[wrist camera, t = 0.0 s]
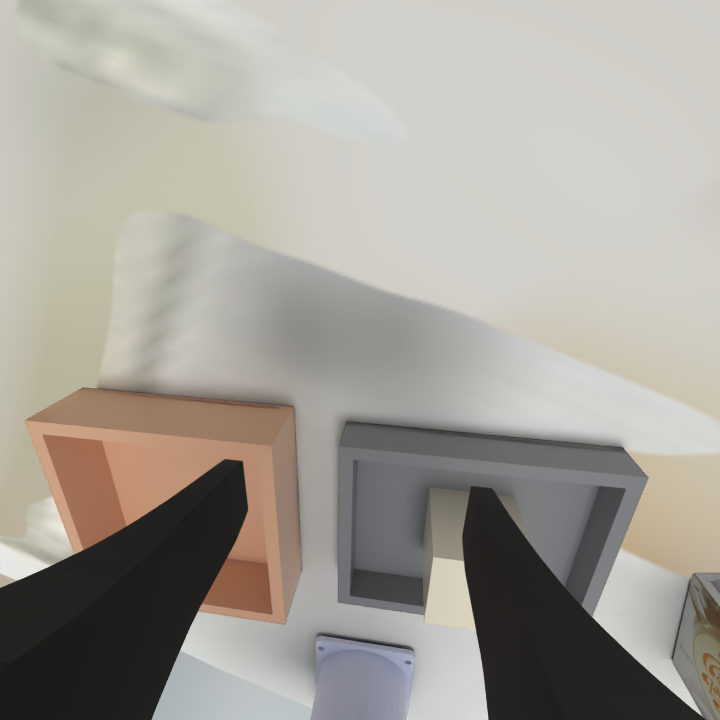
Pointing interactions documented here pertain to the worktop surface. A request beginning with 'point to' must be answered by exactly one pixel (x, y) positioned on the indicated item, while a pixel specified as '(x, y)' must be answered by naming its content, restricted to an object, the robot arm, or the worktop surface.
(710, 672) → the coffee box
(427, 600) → the stone block
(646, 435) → the worktop surface
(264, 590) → the bin
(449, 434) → the tray
